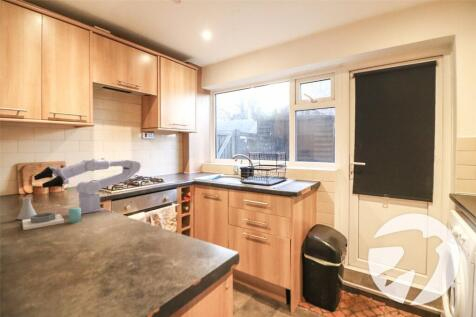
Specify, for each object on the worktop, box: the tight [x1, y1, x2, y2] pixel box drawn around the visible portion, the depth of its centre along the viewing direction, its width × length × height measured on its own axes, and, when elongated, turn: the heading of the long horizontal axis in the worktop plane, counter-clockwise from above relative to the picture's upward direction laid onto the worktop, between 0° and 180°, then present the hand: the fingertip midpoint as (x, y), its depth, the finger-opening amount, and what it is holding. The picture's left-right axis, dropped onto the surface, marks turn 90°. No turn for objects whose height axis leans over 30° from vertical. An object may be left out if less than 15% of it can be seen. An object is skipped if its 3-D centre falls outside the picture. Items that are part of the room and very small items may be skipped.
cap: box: [67, 206, 82, 224], centre depth 112 cm, size 5×5×6 cm
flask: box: [16, 196, 37, 221], centre depth 118 cm, size 7×7×10 cm
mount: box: [22, 212, 65, 231], centre depth 111 cm, size 14×14×3 cm
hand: (38, 181), depth 112 cm, fingers open, 7 cm apart
